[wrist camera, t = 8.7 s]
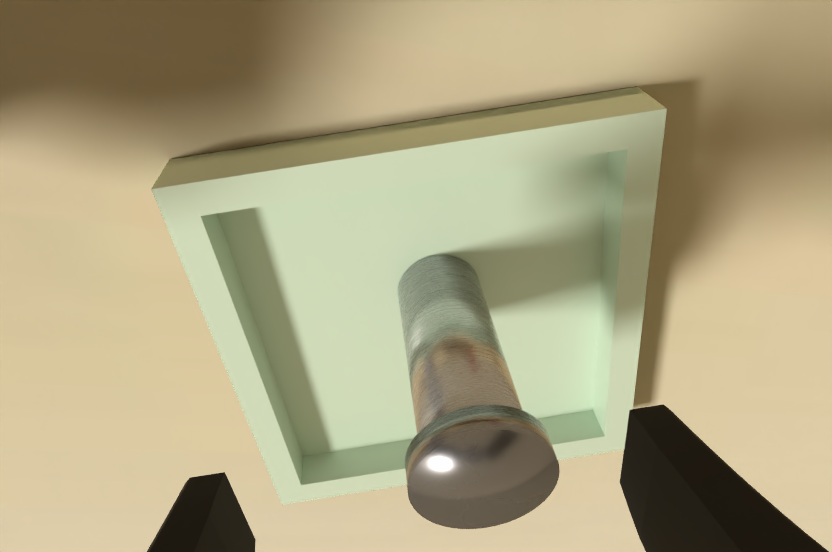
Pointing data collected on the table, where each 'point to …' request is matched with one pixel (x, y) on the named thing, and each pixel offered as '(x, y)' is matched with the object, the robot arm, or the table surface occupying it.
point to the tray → (408, 243)
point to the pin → (466, 406)
